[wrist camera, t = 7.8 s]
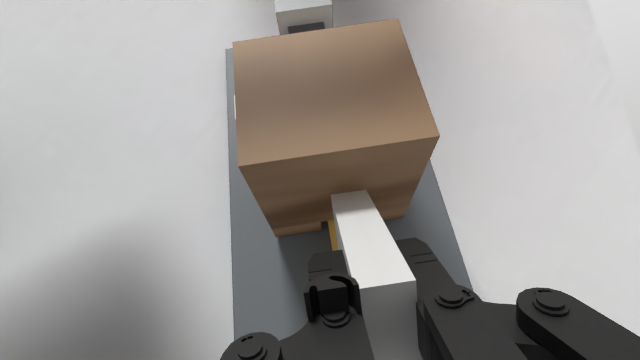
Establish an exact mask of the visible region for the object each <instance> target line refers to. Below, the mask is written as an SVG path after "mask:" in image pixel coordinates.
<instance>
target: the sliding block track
mask: <svg viewBox="0 0 640 360" xmlns="http://www.w3.org/2000/svg"><path fill="white" fill-rule="evenodd" d="M274 3H275V11H276V16H277V22H278V27H279V32H280V35H286V34H293V33H300V32H307V31H314V30H321V29H328V28H333V18H332V1H331V0H274ZM226 80H227V114H228V148H229V182H230V216H231V250H232V284H233V318H234V341H235V340H237V339H238V338H240V337H242V336H244V335H247V334H249V333H255V332H265V333H270V334H272V335H273V336H275V337H276V338H277V339H278V341H279V340H282V339H284V338H287V337H289V336H291V335H293V334H295V333H297V332H298V331H299V330H300V329H302V328H303V327H304V325H305V324H306V323H307V321H308V316H307V311H306V305H305V299H304V294H303V293H304V289H305V286H306V285H307V284H308V283H309V277H308V262H309V260H310V258H311V257H312V255H313V254H316V253H322V252H329V251H336V250H338V246H337V238H336V231H335V223H334V220H329V221H323V222H321V229H322V230H319V231H313V232H306V233H300V234H293V235H287V236H280V237H275V235H274V233H273V231H272V229H271V227H270V225H269V223H268V222H267V220H266V218H265V216H264V214H263V212H262V210H261V209H260V207H259V205H258V203H257V201H256V199H255V197H254V195H253V194H252V192H251V190H250V188H249V186H248V184H247V182H246V180H245V179H244V177H243V175H242V173H241V171H240V169H239V167H238V157H237V133H236V110H235V86H234V63H233V48H231V49H226ZM384 223H385V225H386V227H387V228H388V230H389V232H390V234H391V236H392V237H393V239H394V241H395V240H401V239H408V238H414V237H416V238H418V239H419V240H421V241H423V242H425V243H426V244H427V245H428V246H429V247H430V249H431V250H432V252H433V254H435V256H436V257H437V258H438V261H440V263H441V264H442V265H443V267H444V268H445V269H446V271H447V272H448V274H449V275H450V276H451V278H452V279H453V280H454V282H455V283H456V284H457V285H462V286H464V287H466V288H469V289H471V290H472V291H473V289H472V286H471V283H470V280H469V277H468V274H467V271H466V268H465V265H464V262H463V259H462V255H461V252H460V249H459V246H458V243H457V240H456V237H455V234H454V231H453V228H452V225H451V222H450V219H449V216H448V213H447V210H446V207H445V204H444V201H443V198H442V195H441V192H440V189H439V186H438V183H437V180H436V177H435V174H434V171H433V168H432V165H431V161H430V159H429V161H428V164H427V166H426V168H425V170H424V173H423V175H422V177H421V179H420V182H419V184H418V186H417V188H416V191H415V193H414V195H413V197H412V200H411V202H410V204H409V206H408V209H407V211H406V213H405V215H404V218H397V219H391V220H384ZM420 356H421V360H423V358H422V355H421V353H420Z"/></svg>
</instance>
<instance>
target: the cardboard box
mask: <svg viewBox="0 0 640 360" xmlns="http://www.w3.org/2000/svg"><path fill="white" fill-rule="evenodd" d="M233 63H234V86H235V110H236V133H237V157H238V167H239V169H240V171H241V173H242V175H243V177H244V179H245V180H246V182H247V184H248V186H249V188H250V190H251V192H252V194H253V195H254V197H255V199H256V201H257V203H258V205H259V207H260V209H261V210H262V212H263V214H264V216H265V218H266V220H267V222H268V223H269V225H270V227H271V229H272V231H273V233H274V235H275V237H280V236H287V235H293V234H300V233H306V232H313V231H319V230H322V229H321V222H323V221H329V220H334V216H333V209H332V201H331V195H333V194H339V193H346V192H353V191H360V190H366V191H367V192H368V194H369V196H370V198H371V200H372V201H373V203H374V205H375V207H376V209H377V210H378V212H379V214H380V216H381V218H382V219H383V221H384V220H391V219H397V218H404V215H405V213H406V211H407V209H408V206H409V204H410V202H411V200H412V197H413V195H414V193H415V191H416V188H417V186H418V184H419V182H420V179H421V177H422V175H423V173H424V170H425V168H426V166H427V164H428V161H429V159H430V157H431V155H432V152H433V150H434V148H435V146H436V143H437V141H438V139H439V137H440V135H439V132H438V130H437V127H436V124H435V121H434V118H433V116H432V113H431V110H430V107H429V104H428V102H427V99H426V96H425V93H424V90H423V88H422V85H421V82H420V79H419V76H418V74H417V71H416V68H415V65H414V62H413V60H412V57H411V54H410V51H409V48H408V46H407V43H406V40H405V37H404V34H403V32H402V29H401V26H400V23H399V20H398V18H397V19H390V20H383V21H376V22H369V23H362V24H356V25H349V26H342V27H335V28H328V29H321V30H314V31H307V32H300V33H293V34H286V35H279V36H272V37H265V38H259V39H252V40H245V41H238V42H233Z"/></svg>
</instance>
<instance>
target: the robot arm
mask: <svg viewBox="0 0 640 360" xmlns="http://www.w3.org/2000/svg"><path fill="white" fill-rule="evenodd" d="M331 201H332V209H333V216H334V223H335V231H336V238H337V246H338V250H336V251H329V252H322V253H316V254H313V255H312V257H311V258H310V260H309V262H308V277H309V283H308V284H307V285H306V286H305V289H304V293H303V294H304V299H305V305H306V311H307V316H308V321H307V323H306V324H305V325H304V327H303V328H302V329H300V330H299V331H298V332H297V333H295V334H293V335H291V336H289V337H287V338H284V339H282V340H279V341H278V339H277V338H276V337H275V336H273V335H272V334H270V333H265V332H255V333H249V334H247V335H244V336H242V337H240V338H238V339H237V340H235V341H234V342H233V343H231V344H230V345H229V347H228V348H227V349H226V350H225V352H224V353H223V355H222V357H221V359H220V360H421V356H420V353H421V355H422V358H423V360H640V337H639V336H637V335H636V334H634V333H632V332H631V331H629V330H627V329H626V328H624V327H622V326H621V325H619V324H617V323H616V322H614V321H612V320H611V319H609V318H607V317H606V316H604V315H602V314H601V313H599V312H597V311H596V310H594V309H592V308H591V307H589V306H587V305H586V304H584V303H582V302H581V301H579V300H577V299H576V298H574V297H572V296H570V295H568V294H566V293H563V292H561V291H557V290H553V289H549V288H531V289H526V290H524V291H522V292H521V293H519V295H518V297H517V300H516V305H512V304H497V303H489V302H484V301H482V300H481V299H480V298H479V297H478V295H477V294H475V293H474V292H473V291H472V290H471V289H469V288H466V287H464V286H462V285H457V284H456V283H455V282H454V280H453V279H452V278H451V276H450V275H449V274H448V272H447V271H446V269H445V268H444V267H443V265H442V264H441V263H440V261H438V258H437V257H436V256H435V254H433V252H432V250H431V249H430V247H429V246H428V245H427V244H426V243H425V242H423V241H421V240H419V239H418V238H416V237H414V238H408V239H401V240H395V241H394V239H393V237H392V236H391V234H390V232H389V230H388V228H387V227H386V225H385V223H384V221H383V219H382V218H381V216H380V214H379V212H378V210H377V209H376V207H375V205H374V203H373V201H372V200H371V198H370V196H369V194H368V192H367V191H366V190H360V191H353V192H346V193H339V194H333V195H331Z"/></svg>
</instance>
